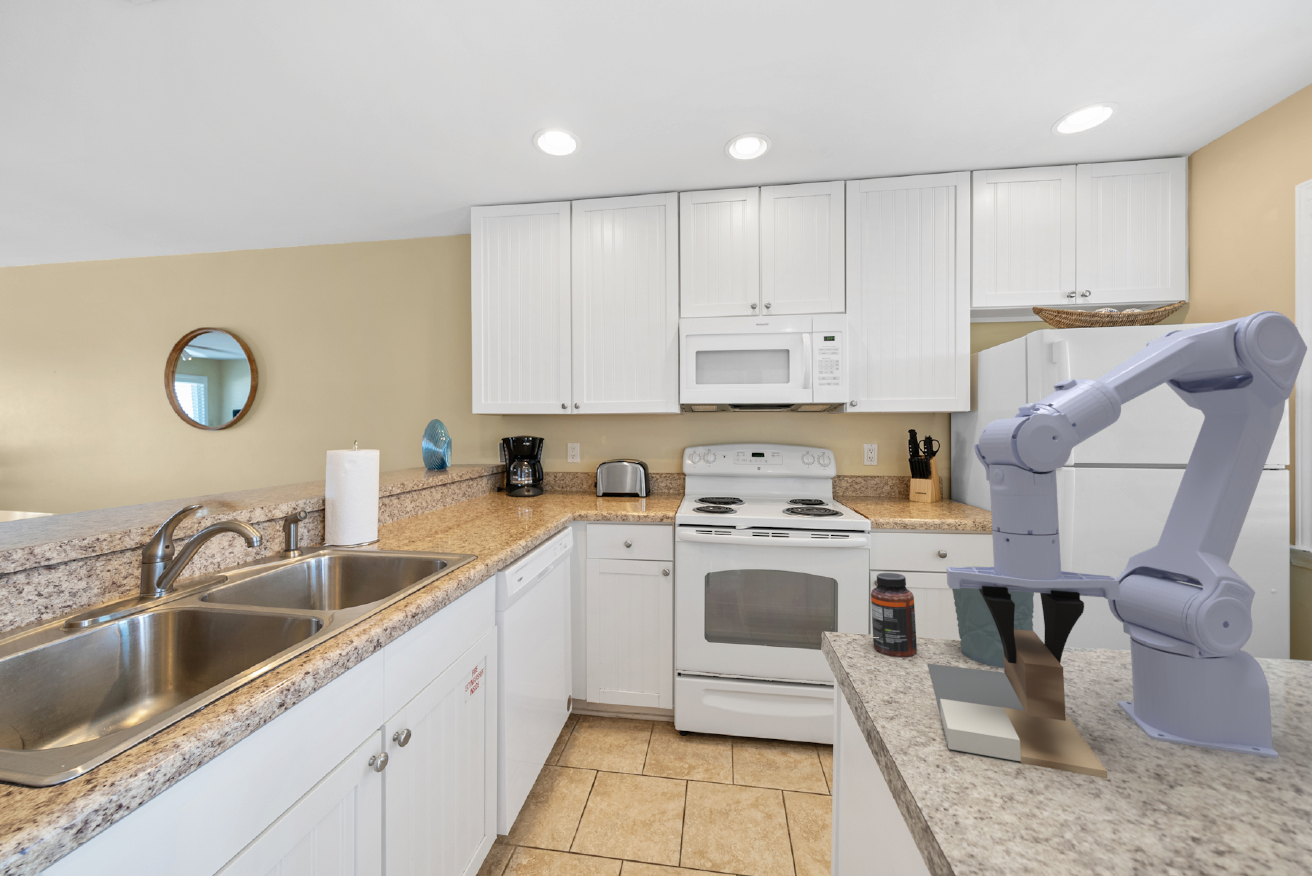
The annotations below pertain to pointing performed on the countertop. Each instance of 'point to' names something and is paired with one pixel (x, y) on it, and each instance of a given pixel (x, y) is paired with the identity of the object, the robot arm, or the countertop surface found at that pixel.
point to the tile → (979, 730)
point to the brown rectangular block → (1036, 677)
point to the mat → (973, 687)
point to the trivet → (1054, 744)
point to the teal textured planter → (987, 624)
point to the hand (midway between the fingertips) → (1031, 662)
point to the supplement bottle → (893, 616)
